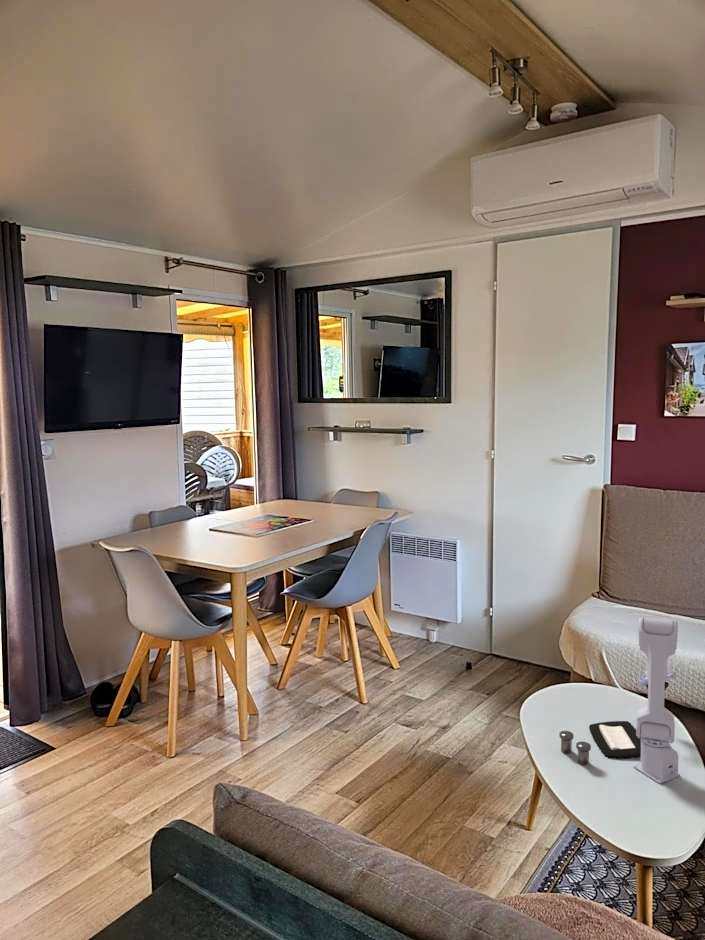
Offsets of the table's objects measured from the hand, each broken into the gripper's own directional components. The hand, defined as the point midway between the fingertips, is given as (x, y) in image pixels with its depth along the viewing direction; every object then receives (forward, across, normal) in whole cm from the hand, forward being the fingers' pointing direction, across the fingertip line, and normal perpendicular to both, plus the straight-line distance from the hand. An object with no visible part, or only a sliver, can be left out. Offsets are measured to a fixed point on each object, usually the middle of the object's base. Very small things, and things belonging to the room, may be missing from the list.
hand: (655, 703), depth 221 cm
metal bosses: (+8, +33, 0) cm, 34 cm away
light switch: (+9, +16, 0) cm, 18 cm away
